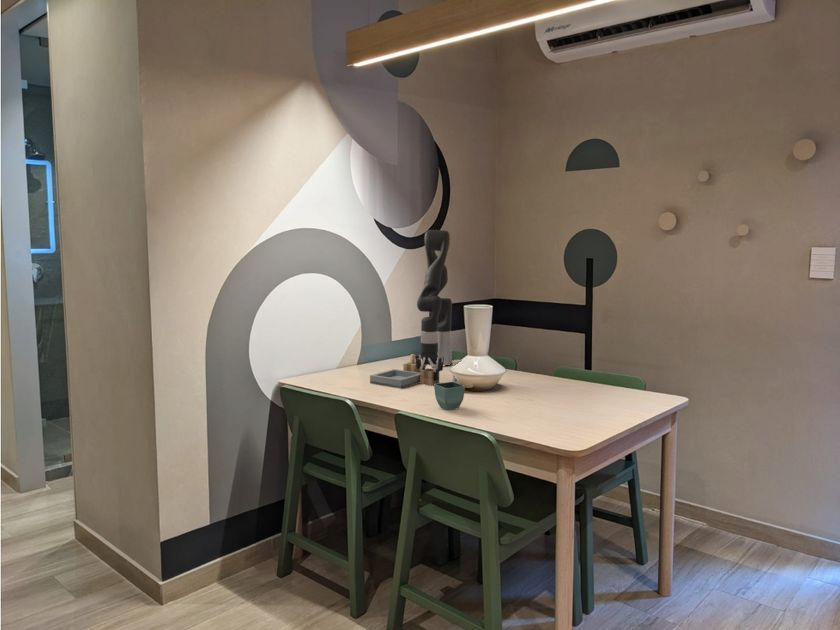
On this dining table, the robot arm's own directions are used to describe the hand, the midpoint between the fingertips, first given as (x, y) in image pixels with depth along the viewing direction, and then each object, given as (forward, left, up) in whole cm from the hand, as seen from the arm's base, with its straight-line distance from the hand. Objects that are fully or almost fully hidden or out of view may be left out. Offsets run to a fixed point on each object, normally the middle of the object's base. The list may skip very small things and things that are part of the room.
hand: (429, 379), depth 296 cm
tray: (+6, -13, -2) cm, 14 cm away
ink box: (-2, +16, -2) cm, 16 cm away
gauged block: (-8, -15, -2) cm, 17 cm away
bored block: (0, 0, -2) cm, 2 cm away
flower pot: (+30, +30, -2) cm, 42 cm away
